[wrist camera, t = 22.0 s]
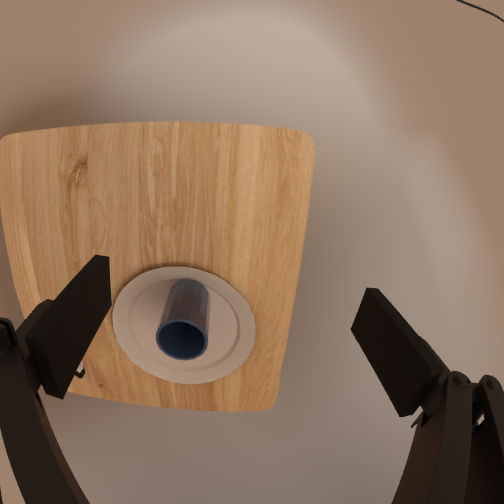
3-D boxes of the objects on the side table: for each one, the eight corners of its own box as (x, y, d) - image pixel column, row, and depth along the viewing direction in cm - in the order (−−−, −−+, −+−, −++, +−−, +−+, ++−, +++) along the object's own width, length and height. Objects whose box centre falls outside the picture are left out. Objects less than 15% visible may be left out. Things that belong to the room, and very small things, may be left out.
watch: (91, 370, 53) (86, 381, 49) (76, 373, 53) (71, 384, 50) (71, 343, 50) (65, 354, 47) (57, 347, 50) (51, 357, 47)
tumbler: (212, 282, 45) (210, 323, 35) (207, 318, 48) (205, 363, 37) (169, 276, 44) (155, 315, 34) (167, 313, 47) (155, 356, 36)
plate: (243, 382, 56) (243, 389, 55) (120, 367, 53) (118, 373, 51) (267, 272, 48) (269, 277, 46) (112, 252, 44) (108, 256, 42)
